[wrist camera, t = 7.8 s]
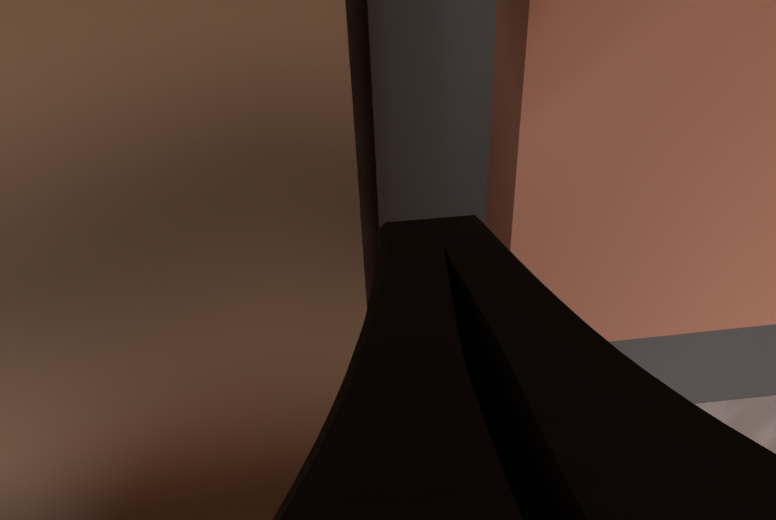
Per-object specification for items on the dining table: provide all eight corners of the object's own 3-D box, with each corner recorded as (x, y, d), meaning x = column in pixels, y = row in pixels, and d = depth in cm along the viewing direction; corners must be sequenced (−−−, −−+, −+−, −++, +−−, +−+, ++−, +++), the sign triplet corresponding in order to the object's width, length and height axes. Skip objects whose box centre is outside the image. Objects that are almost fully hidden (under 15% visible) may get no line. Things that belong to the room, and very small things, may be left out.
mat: (845, 375, 20) (854, 386, 20) (388, 424, 19) (390, 436, 19) (1333, -594, 9) (1370, -605, 9) (334, -575, 8) (336, -588, 8)
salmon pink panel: (502, 353, 15) (481, 291, 16) (781, 323, 15) (734, 266, 17) (541, -146, 9) (504, -165, 11) (977, -174, 10) (880, -187, 11)
